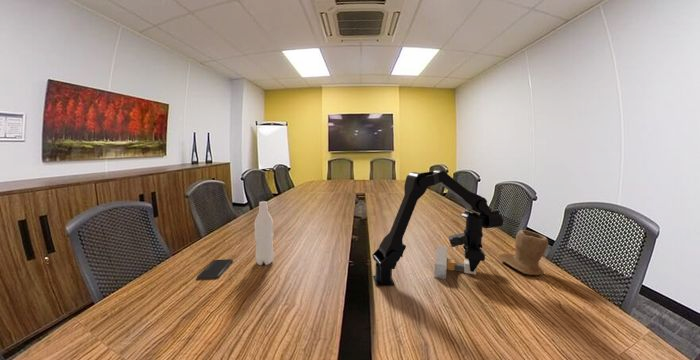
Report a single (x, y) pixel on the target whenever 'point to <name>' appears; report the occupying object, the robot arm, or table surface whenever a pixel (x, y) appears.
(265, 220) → the water bottle
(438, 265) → the housing
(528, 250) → the brown hat
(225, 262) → the phone
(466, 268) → the plug
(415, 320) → the table surface
